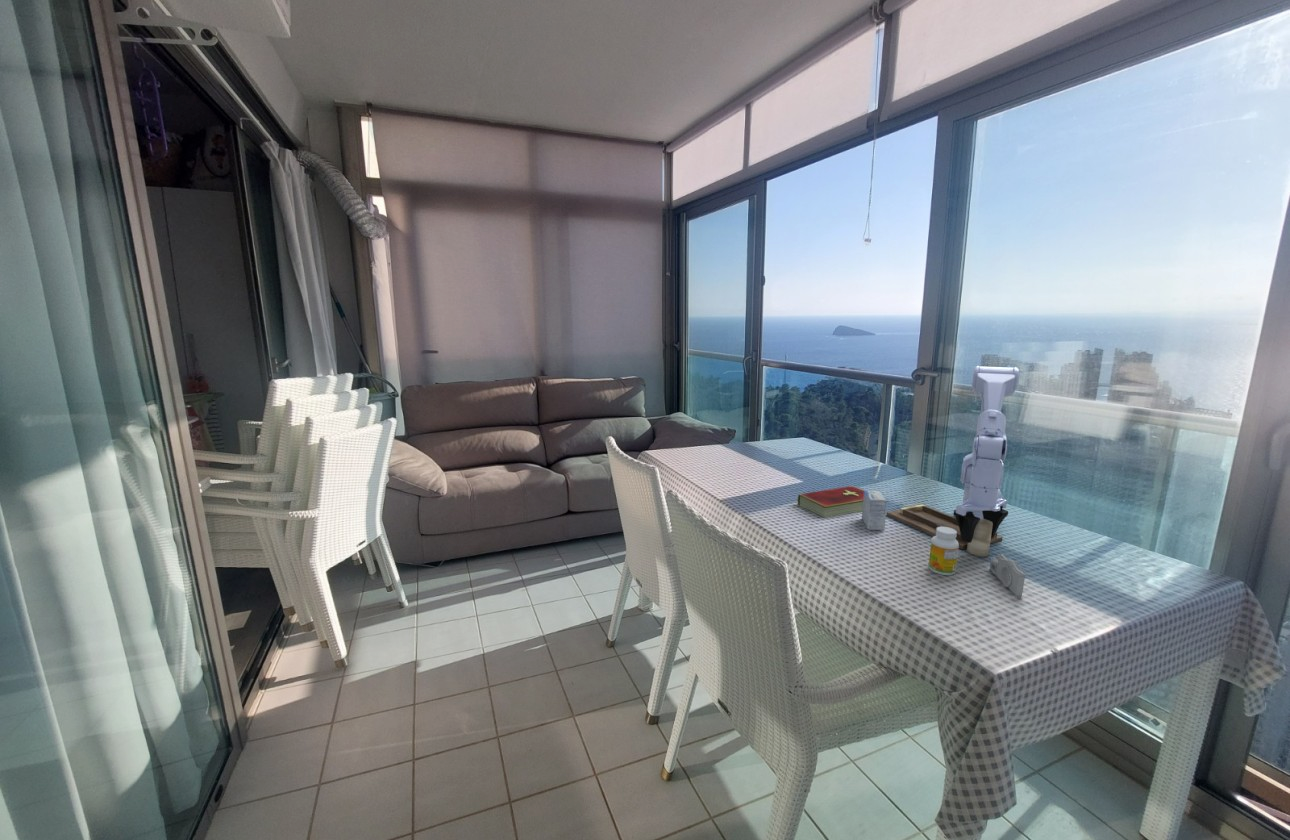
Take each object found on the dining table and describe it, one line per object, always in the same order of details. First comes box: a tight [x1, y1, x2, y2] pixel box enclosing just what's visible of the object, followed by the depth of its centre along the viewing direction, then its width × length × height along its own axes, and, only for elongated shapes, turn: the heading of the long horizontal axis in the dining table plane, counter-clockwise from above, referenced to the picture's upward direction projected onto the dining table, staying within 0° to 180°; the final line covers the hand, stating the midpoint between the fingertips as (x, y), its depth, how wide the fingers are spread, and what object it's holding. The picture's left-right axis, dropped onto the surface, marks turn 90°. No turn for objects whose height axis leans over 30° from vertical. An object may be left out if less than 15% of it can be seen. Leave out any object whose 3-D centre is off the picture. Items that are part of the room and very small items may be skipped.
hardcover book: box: [797, 485, 865, 519], centre depth 157 cm, size 12×21×4 cm, turn 112°
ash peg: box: [966, 518, 993, 558], centre depth 125 cm, size 4×4×8 cm
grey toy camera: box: [989, 553, 1029, 597], centre depth 111 cm, size 12×2×6 cm, turn 170°
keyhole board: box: [886, 503, 1003, 550], centre depth 141 cm, size 14×24×2 cm, turn 20°
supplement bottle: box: [928, 527, 960, 576], centre depth 117 cm, size 5×5×10 cm
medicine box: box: [861, 490, 888, 531], centre depth 142 cm, size 8×4×9 cm, turn 168°
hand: (977, 538), depth 126 cm, fingers open, 7 cm apart
